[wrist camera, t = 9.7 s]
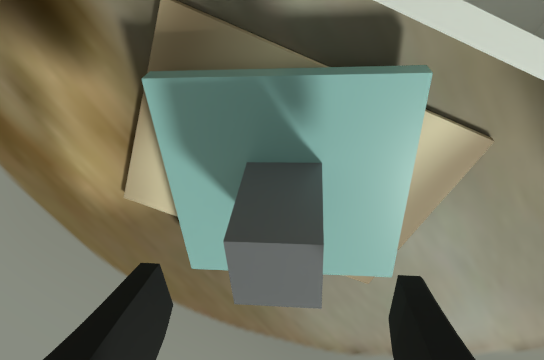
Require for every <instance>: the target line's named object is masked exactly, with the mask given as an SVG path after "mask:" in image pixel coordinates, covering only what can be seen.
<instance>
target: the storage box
mask: <svg viewBox="0 0 544 360" xmlns="http://www.w3.org/2000/svg"><path fill="white" fill-rule="evenodd" d="M374 1H377V2H379V3H381V4H383V5H385V6H387V7H389V8H391V9H393V10H396V11H398V12H400V13H402V14H404V15H406V16H408V17H410V18H413V19H415V20H417V21H419V22H421V23H423V24H425V25H427V26H430V27H432V28H434V29H436V30H438V31H440V32H442V33H444V34H446V35H449V36H451V37H453V38H455V39H457V40H459V41H461V42H463V43H466V44H468V45H470V46H472V47H474V48H476V49H478V50H480V51H482V52H485V53H487V54H489V55H491V56H493V57H495V58H497V59H499V60H502V61H504V62H506V63H508V64H510V65H512V66H514V67H516V68H519V69H521V70H523V71H525V72H527V73H529V74H531V75H533V76H535V77H538V78H540V79H542V80H544V0H374Z"/></svg>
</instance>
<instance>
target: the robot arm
mask: <svg viewBox="0 0 544 360" xmlns="http://www.w3.org/2000/svg"><path fill="white" fill-rule="evenodd" d="M172 307H173V303H172V300H171V297H170V294H169V291H168V288H167V285H166V282H165V279H164V276H163V273H162V270H161V267H160V264H154V263H140V264H139V265H138V266H137V267H136V268H135V269H134V270H133V271H132V273H131V274H130V275H129V276H128V277H127V278H126V279H125V280H124V281H123V282H122V283H121V284H120V285H119V286H118V287H117V288H116V289H115V290H114V291H113V292H112V294H111V295H110V296H109V297H108V298H107V299H106V300H105V301H104V302H103V303H102V304H101V305H100V306H99V307H98V308H97V309H96V310H95V311H94V312H93V313H92V314H91V315H90V316H89V317H88V318H87V319H86V320H85V321H84V322H83V323H82V324H81V325H80V326H79V327H78V328H77V329H76V330H75V331H74V332H72V334H70V335H69V336H68V337H67V338H66V339H65V340H64V341H63V342H62V343H61V344H60V345H59V346H58V347H56V348H55V349H54V350H53V351H52V352H51V353H50V354H49V355H48V356H46V357H45V358H44V359H43V360H156V358H157V355H158V353H159V350H160V348H161V345H162V343H163V340H164V337H165V334H166V330H167V327H168V323H169V319H170V315H171V311H172ZM389 327H390V336H391V344H392V352H393V358H394V360H475V358H474V357H473V356H472V354H471V353H470V351H469V350H468V349H467V347H466V346H465V344H464V343H463V341H462V340H461V339H460V337H459V336H458V334H457V333H456V331H455V330H454V328H453V327H452V325H451V324H450V322H449V321H448V319H447V318H446V316H445V314H444V313H443V311H442V310H441V308H440V307H439V305H438V303H437V302H436V300H435V299H434V297H433V295H432V294H431V292H430V290H429V288H428V287H427V285H426V283H425V282H424V280H423V279H422V278H421V277H420V276H403V275H398V278H397V282H396V287H395V291H394V296H393V300H392V305H391V309H390V314H389Z"/></svg>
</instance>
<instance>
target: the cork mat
mask: <svg viewBox="0 0 544 360" xmlns="http://www.w3.org/2000/svg"><path fill="white" fill-rule="evenodd" d="M321 67H328V66H326V65H324V64H321V63H319V62H317V61H314V60H312V59H310V58H307V57H305V56H303V55H301V54H298V53H296V52H294V51H291V50H289V49H287V48H285V47H282V46H280V45H278V44H275V43H273V42H271V41H269V40H266V39H264V38H262V37H259V36H257V35H255V34H252V33H250V32H248V31H246V30H243V29H241V28H239V27H236V26H234V25H232V24H230V23H227V22H225V21H223V20H220V19H218V18H216V17H214V16H211V15H209V14H207V13H204V12H202V11H200V10H197V9H195V8H193V7H191V6H188V5H186V4H184V3H181V2H179V1H177V0H160V5H159V10H158V16H157V21H156V26H155V32H154V37H153V43H152V48H151V53H150V59H149V64H148V70H147V73H148V72H150V71H187V70H231V69H276V68H321ZM494 142H495V141H494V140H493V139H492V138H491V137H489V136H486V135H484V134H482V133H479V132H477V131H475V130H472V129H470V128H468V127H466V126H463V125H461V124H459V123H456V122H454V121H452V120H450V119H447V118H445V117H443V116H440V115H438V114H436V113H434V112H431V111H429V110H427V109H425V114H424V119H423V124H422V129H421V134H420V139H419V144H418V149H417V154H416V159H415V164H414V169H413V174H412V179H411V184H410V189H409V194H408V199H407V204H406V209H405V214H404V219H403V224H402V229H401V234H400V239H399V244H398V249H397V251H398V250H399V249H400V248H401V246H402V245H403V244H404V243H405V242H406V241H407V240H408V239H409V237H410V236H411V235H412V234H413V233H414V232H415V231H416V230H417V228H418V227H419V226H420V225H421V224H422V223H423V222H424V221H425V219H426V218H427V217H428V216H429V215H430V214H431V213H432V211H433V210H434V209H435V208H436V207H437V206H438V205H439V204H440V202H441V201H442V200H443V199H444V198H445V197H446V196H447V195H448V193H449V192H450V191H451V190H452V189H453V188H454V187H455V186H456V184H457V183H458V182H459V181H460V180H461V179H462V178H463V177H464V175H465V174H466V173H467V172H468V171H469V170H470V169H471V168H472V166H473V165H474V164H475V163H476V162H477V161H478V160H479V159H480V157H481V156H482V155H483V154H484V153H485V152H486V151H487V150H488V148H489V147H490V146H491V145H492V144H493V143H494ZM124 198H126V199H129V200H132V201H135V202H138V203H140V204H143V205H146V206H149V207H152V208H155V209H157V210H160V211H163V212H166V213H169V214H172V215H174V216H177V217H178V215H177V211H176V207H175V203H174V200H173V196H172V192H171V188H170V185H169V181H168V177H167V173H166V169H165V166H164V162H163V158H162V154H161V151H160V147H159V143H158V139H157V136H156V132H155V128H154V124H153V120H152V117H151V113H150V109H149V105H148V102H147V98H146V94H145V90H144V91H143V97H142V102H141V107H140V113H139V118H138V124H137V129H136V134H135V140H134V145H133V151H132V156H131V161H130V167H129V172H128V177H127V183H126V188H125V194H124ZM344 276H347V277H350V278H352V279H355V280H358V281H361V282H364V283H366V284H369V282H370V281H371V280H372V279H373V278H374V277H375V276H351V275H344Z"/></svg>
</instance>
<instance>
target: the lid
mask: <svg viewBox="0 0 544 360" xmlns="http://www.w3.org/2000/svg"><path fill="white" fill-rule="evenodd" d="M432 74H433V73H432V71H431V70H430V69H429V67H428V66H427V65H410V66H365V67H321V68H276V69H231V70H187V71H150V72H148V73H147V74H146V75H145V76H144V77H143V78H142V83H143V87H144V90H145V94H146V98H147V102H148V105H149V109H150V113H151V117H152V120H153V124H154V128H155V132H156V136H157V139H158V143H159V147H160V151H161V154H162V158H163V162H164V166H165V169H166V173H167V177H168V181H169V185H170V188H171V192H172V196H173V200H174V203H175V207H176V211H177V215H178V219H179V222H180V226H181V230H182V234H183V237H184V241H185V245H186V249H187V252H188V256H189V260H190V264H191V268H192V269H210V270H228V271H229V276H230V282H231V287H232V293H233V298H234V304H245V305H264V306H282V307H301V308H320V309H321V307H322V280H323V274H328V275H351V276H375V277H392V274H393V269H394V264H395V259H396V254H397V249H398V244H399V239H400V234H401V229H402V224H403V219H404V214H405V209H406V204H407V199H408V194H409V189H410V184H411V179H412V174H413V169H414V164H415V159H416V154H417V149H418V144H419V139H420V134H421V129H422V124H423V119H424V114H425V109H426V104H427V99H428V94H429V89H430V84H431V79H432Z"/></svg>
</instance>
